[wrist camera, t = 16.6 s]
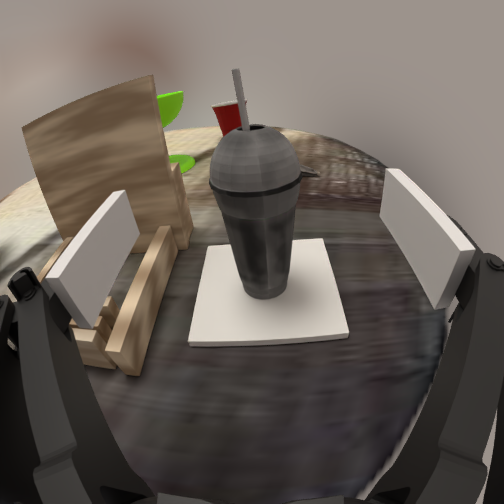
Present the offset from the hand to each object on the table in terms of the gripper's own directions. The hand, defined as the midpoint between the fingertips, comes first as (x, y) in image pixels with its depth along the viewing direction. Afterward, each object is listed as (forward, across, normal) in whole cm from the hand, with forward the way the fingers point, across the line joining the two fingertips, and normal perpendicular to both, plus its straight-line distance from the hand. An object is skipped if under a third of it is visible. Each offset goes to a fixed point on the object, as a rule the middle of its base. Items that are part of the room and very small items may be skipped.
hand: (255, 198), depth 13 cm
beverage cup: (+8, 0, -14) cm, 16 cm away
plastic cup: (+71, -8, -15) cm, 73 cm away
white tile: (+8, 0, -14) cm, 17 cm away
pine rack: (+10, -20, -15) cm, 27 cm away
